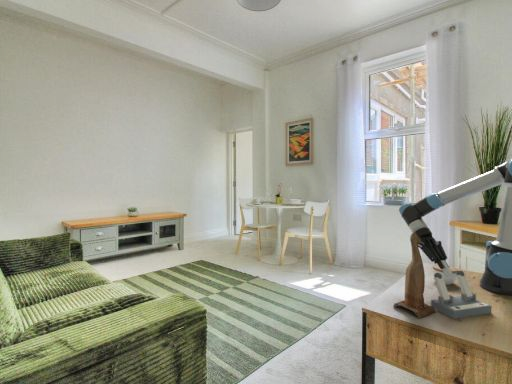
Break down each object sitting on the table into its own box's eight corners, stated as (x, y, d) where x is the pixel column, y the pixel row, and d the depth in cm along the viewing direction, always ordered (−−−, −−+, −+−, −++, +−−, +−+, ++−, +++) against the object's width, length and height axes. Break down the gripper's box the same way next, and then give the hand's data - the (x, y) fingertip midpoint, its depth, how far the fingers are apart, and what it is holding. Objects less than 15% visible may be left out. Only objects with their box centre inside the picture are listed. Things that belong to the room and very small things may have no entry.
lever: (440, 302, 112) (430, 273, 117) (447, 301, 113) (437, 272, 118) (445, 302, 110) (436, 272, 114) (452, 301, 111) (443, 272, 115)
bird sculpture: (436, 313, 110) (440, 233, 109) (419, 319, 104) (423, 235, 103) (408, 302, 120) (412, 229, 119) (392, 307, 114) (395, 230, 113)
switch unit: (431, 307, 115) (431, 293, 114) (466, 302, 119) (466, 289, 119) (453, 319, 105) (454, 304, 105) (491, 313, 110) (491, 299, 110)
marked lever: (462, 299, 116) (453, 271, 120) (469, 298, 116) (459, 270, 121) (469, 299, 113) (458, 270, 117) (475, 298, 114) (465, 269, 118)
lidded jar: (461, 287, 136) (462, 268, 135) (437, 285, 138) (438, 267, 137) (450, 279, 146) (451, 262, 146) (428, 277, 148) (429, 260, 148)
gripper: (426, 234, 142) (455, 277, 127) (405, 235, 139) (432, 279, 124) (435, 226, 137) (467, 270, 122) (414, 226, 134) (443, 272, 119)
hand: (449, 274), depth 123 cm, fingers closed
